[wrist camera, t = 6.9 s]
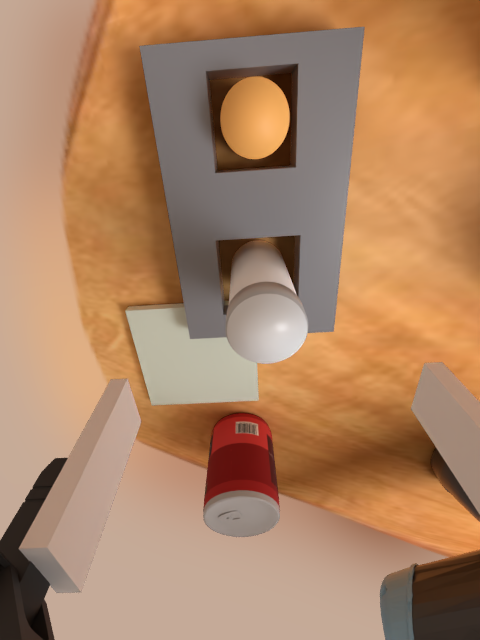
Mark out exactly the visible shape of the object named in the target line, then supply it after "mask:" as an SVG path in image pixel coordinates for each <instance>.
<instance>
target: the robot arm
mask: <svg viewBox="0 0 480 640" xmlns="http://www.w3.org/2000/svg"><path fill="white" fill-rule="evenodd" d="M411 410H412V411H413V413H414V414H415V416H416V417H417V419H418V420H419V422H420V423H421V425H422V427H423V428H424V430H425V431H426V433H427V434H428V436H429V437H430V439H431V440H432V442H433V443H434V445H435V447H436V449H435V451H434V453H433V455H432V459H431V465H432V469H433V471H434V473H435V475H436V476H437V478H438V480H439V481H440V483H441V484H442V486H443V487H444V488H445V489H446V490H447V491H448V492H449V493H451V494H452V495H453V496H454V497H455V498H456V499H457V500H458V501H459V502H460V503H461V504H462V505H463V506H464V507H465V508H466V509H467V510H468V511H469V512H470V513H471V514H472V515H473V516H474V517H475V518H476V519H477V520H478V521H479V522H480V402H479V401H478V400H477V399H476V398H475V397H474V396H473V395H472V394H471V393H470V391H469V390H468V389H467V388H466V387H465V386H464V385H463V384H462V383H461V382H460V381H459V380H458V379H457V378H456V376H455V375H454V374H453V373H452V372H451V371H450V370H449V369H448V368H447V367H446V366H445V365H444V364H443V363H442V362H438V363H424V366H423V370H422V373H421V376H420V380H419V383H418V386H417V390H416V393H415V397H414V400H413V403H412V407H411ZM140 424H141V419H140V416H139V413H138V409H137V406H136V403H135V400H134V397H133V394H132V391H131V388H130V384H129V381H128V379H111V380H110V382H109V384H108V386H107V387H106V389H105V391H104V393H103V395H102V397H101V399H100V400H99V402H98V404H97V406H96V408H95V409H94V411H93V413H92V415H91V417H90V419H89V420H88V422H87V424H86V426H85V428H84V430H83V431H82V433H81V435H80V437H79V439H78V441H77V443H76V444H75V446H74V448H73V450H72V452H71V454H70V455H69V457H68V458H56V459H54V460H53V461H52V462H51V463H50V464H49V465H48V466H47V467H46V468H45V469H44V470H43V471H42V472H41V474H40V476H39V477H38V479H37V480H36V482H35V484H34V485H33V489H32V490H30V492H29V494H28V496H27V497H26V499H25V502H23V504H22V505H21V507H20V509H19V510H18V512H17V514H16V515H15V517H14V519H13V520H12V522H11V524H10V525H9V527H8V529H7V530H6V532H5V534H4V535H3V537H2V539H1V540H0V640H54V635H53V631H52V626H51V622H50V617H49V613H48V608H47V604H46V602H45V600H44V597H45V595H46V593H47V590H48V588H49V586H50V585H51V587H52V588H53V589H54V590H55V592H56V593H75V592H81V591H82V589H83V586H84V583H85V580H86V578H87V575H88V572H89V569H90V566H91V563H92V560H93V558H94V555H95V552H96V549H97V546H98V543H99V541H100V538H101V535H102V532H103V529H104V526H105V524H106V521H107V518H108V515H109V512H110V509H111V506H112V504H113V501H114V498H115V495H116V492H117V490H118V486H119V484H120V481H121V478H122V475H123V472H124V470H125V467H126V464H127V461H128V458H129V455H130V452H131V450H132V447H133V444H134V441H135V438H136V436H137V433H138V430H139V427H140ZM380 607H381V617H382V623H383V629H384V635H385V640H480V550H476V551H472V552H468V553H465V554H461V555H457V556H453V557H449V558H446V559H442V560H438V561H434V562H431V563H427V564H422V565H418V564H416V563H415V564H412V565H411V567H409V568H406V569H403V570H400V571H397V572H394V573H391V574H389V575H387V576H386V577H385V578H384V580H383V582H382V585H381V589H380Z"/></svg>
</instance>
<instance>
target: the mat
mask: <svg viewBox="0 0 480 640" xmlns="http://www.w3.org/2000/svg"><path fill="white" fill-rule="evenodd" d="M224 305H229V301H225V302H224ZM125 312H126V316H127V319H128V323H129V326H130V330H131V333H132V337H133V341H134V344H135V348H136V351H137V355H138V358H139V362H140V365H141V369H142V373H143V376H144V380H145V383H146V387H147V390H148V394H149V397H150V401H151V404H152V405H172V404H194V403H215V402H237V401H258V400H259V395H258V373H257V363H255V362H252V361H249V360H247V359H244V358H243V357H241V356H240V355H239V354H237V353H236V352H235V351H234V350H233V349H232V347H231V346H230V344H229V342H228V340H227V337H221V338H202V339H190V336H189V330H188V325H187V319H186V313H185V307H184V303H179V304H161V305H144V306H128V308H127V309H126V310H125Z"/></svg>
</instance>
